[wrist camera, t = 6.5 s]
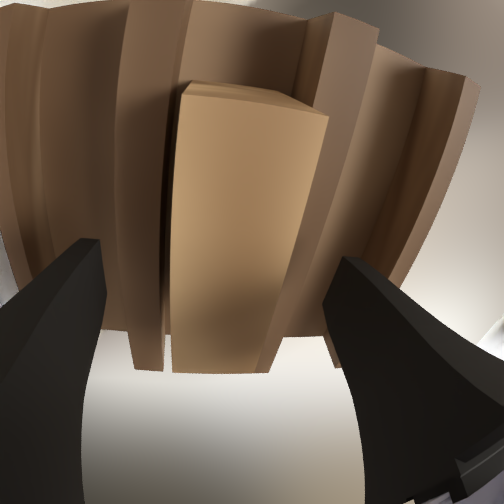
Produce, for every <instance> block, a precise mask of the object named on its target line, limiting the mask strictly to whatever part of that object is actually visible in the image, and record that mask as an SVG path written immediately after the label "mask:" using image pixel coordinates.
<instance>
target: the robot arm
mask: <svg viewBox="0 0 504 504" xmlns="http://www.w3.org/2000/svg"><path fill="white" fill-rule="evenodd" d="M106 299H107V288H106V282H105V275H104V268H103V260H102V253H101V244H100V239H90V238H80V239H79V240H77V241H76V242H75V243H73V244H72V245H71V246H70V247H69V248H68V249H66V250H65V251H64V252H63V253H62V254H61V255H60V256H59V257H57V258H56V259H55V260H54V261H53V262H52V263H51V264H50V265H48V266H47V267H46V268H45V269H44V270H43V271H42V272H41V273H40V274H39V275H37V276H36V277H35V278H34V279H33V280H32V281H31V282H30V283H28V284H27V285H26V286H25V287H24V288H23V289H22V290H20V291H19V292H18V293H17V294H16V295H15V296H14V297H13V298H11V299H10V300H9V301H8V302H7V303H6V304H5V305H3V306H1V304H0V504H85V501H84V493H83V484H82V467H81V429H82V414H83V403H84V396H85V390H86V384H87V380H88V376H89V372H90V368H91V364H92V360H93V356H94V352H95V348H96V345H97V341H98V337H99V334H100V330H101V326H102V322H103V316H104V311H105V305H106ZM322 306H323V311H324V316H325V320H326V324H327V328H328V332H329V335H330V337H331V340H332V343H333V345H334V348H335V351H336V354H337V356H338V359H339V362H340V364H341V367H342V370H343V372H344V375H345V378H346V380H347V383H348V386H349V389H350V392H351V395H352V399H353V403H354V407H355V411H356V416H357V421H358V426H359V432H360V438H361V443H362V452H363V461H364V473H365V504H403V503H406V502H408V501H410V500H413V499H414V502H415V504H504V361H503V360H501V359H499V358H497V357H495V356H493V355H491V354H489V353H488V352H486V351H484V350H483V349H481V348H479V347H477V346H476V345H474V344H472V343H470V342H469V341H468V340H466V339H464V338H463V337H461V336H460V335H458V334H457V333H456V332H454V331H453V330H451V329H450V328H448V327H447V326H446V325H444V324H443V323H442V322H440V321H439V320H438V319H436V318H435V317H434V316H432V315H431V314H430V313H429V312H427V311H426V310H425V309H424V308H422V307H421V306H420V305H418V304H417V303H416V302H415V301H414V300H412V299H411V298H410V297H409V296H407V295H406V294H405V293H404V292H403V291H402V290H400V289H399V288H398V287H397V286H396V285H394V284H393V283H392V282H391V281H390V280H388V279H387V278H386V277H385V276H383V275H382V274H381V273H380V272H378V271H377V270H376V269H375V268H373V267H372V266H371V265H369V264H368V263H366V262H365V261H364V260H362V259H360V258H359V257H347V256H342V258H341V260H340V263H339V265H338V268H337V270H336V272H335V275H334V277H333V280H332V282H331V284H330V286H329V289H328V291H327V293H326V296H325V298H324V300H323V302H322Z"/></svg>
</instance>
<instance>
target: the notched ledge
mask: <svg viewBox="0 0 504 504" xmlns="http://www.w3.org/2000/svg"><path fill="white" fill-rule="evenodd" d="M379 30H380V29H379V28H376V27H374V26H371V25H369V24H367V23H364V22H362V21H359V20H357V19H354V18H351V17H349V16H346V15H343V14H340V13H338V12H332V13H328V14H325V15H321V16H318V17H315V18H312V19H309V20H306V19H303V18H299V17H295V16H291V15H287V14H283V13H278V12H273V11H269V10H264V9H259V8H254V7H248V6H242V5H235V4H228V3H221V2H212V1H201V0H106V1H95V2H87V3H79V4H73V5H67V6H61V7H55V8H50V9H48V8H43V7H37V6H32V5H26V4H19V3H13V4H9V5H6V6H3V7H0V230H1V234H2V238H3V242H4V245H5V249H6V252H7V255H8V259H9V262H10V265H11V268H12V271H13V274H14V277H15V280H16V283H17V286H18V289H19V291H20V290H22V289H23V288H24V287H25V286H26V285H27V284H28V283H30V282H31V281H32V280H33V279H34V278H35V277H36V276H37V275H39V274H40V273H41V272H42V271H43V270H44V269H45V268H46V267H47V266H48V265H50V264H51V263H52V262H53V261H54V260H55V259H56V258H57V257H59V256H60V255H61V254H62V253H63V252H64V251H65V250H66V249H68V248H69V247H70V246H71V245H72V244H73V243H75V242H76V241H77V240H79V239H80V238H90V239H100V244H101V253H102V260H103V268H104V275H105V282H106V288H107V299H106V305H105V311H104V316H103V322H102V326H101V329H107V330H118V331H127V332H128V337H129V342H130V348H131V354H132V358H133V364H134V368H135V369H137V370H149V371H163V369H164V347H165V334H168V335H171V324H170V246H171V217H172V197H173V181H174V167H175V154H176V143H177V132H178V123H179V114H180V105H181V97H182V94H183V92H184V91H185V90H186V88H187V87H188V86H189V84H190V83H191V82H192V80H200V81H211V82H220V83H229V84H237V85H244V86H251V87H257V88H263V89H269V90H275V91H279V92H281V93H283V94H285V95H287V96H289V97H292V98H294V99H296V100H298V101H300V102H302V103H304V104H306V105H308V106H310V107H312V108H314V109H316V110H318V111H320V112H321V113H323V114H325V115H327V116H329V119H328V123H327V127H326V131H325V135H324V139H323V143H322V147H321V151H320V155H319V158H318V162H317V166H316V170H315V173H314V177H313V181H312V185H311V188H310V192H309V196H308V199H307V203H306V206H305V210H304V213H303V217H302V220H301V224H300V227H299V231H298V234H297V238H296V241H295V245H294V248H293V252H292V255H291V258H290V262H289V265H288V268H287V272H286V275H285V278H284V281H283V285H282V288H281V291H280V294H279V298H278V301H277V304H276V307H275V310H274V314H273V317H272V320H271V323H270V326H269V329H268V332H267V335H266V338H265V342H264V345H263V348H262V351H261V354H260V357H259V360H258V363H257V366H256V369H255V372H254V373H268V372H269V370H270V368H271V365H272V363H273V361H274V358H275V356H276V353H277V351H278V348H279V346H280V344H281V341H282V339H283V337H311V336H323V337H324V340H325V343H326V345H327V348H328V351H329V354H330V356H331V359H332V362H333V364H334V367H335V368H342V367H341V364H340V362H339V359H338V356H337V354H336V351H335V348H334V345H333V343H332V340H331V337H330V335H329V332H328V328H327V324H326V320H325V316H324V311H323V306H322V302H323V300H324V298H325V296H326V293H327V291H328V289H329V286H330V284H331V282H332V280H333V277H334V275H335V272H336V270H337V268H338V265H339V263H340V260H341V258H342V256H347V257H359V258H360V259H362V260H364V261H365V262H366V263H368V264H369V265H371V266H372V267H373V268H375V269H376V270H377V271H378V272H380V273H381V274H382V275H383V276H385V277H386V278H387V279H388V280H390V281H391V282H392V283H393V284H394V285H396V286H397V287H398V288H400V286H401V285H402V283H403V281H404V279H405V277H406V276H407V274H408V272H409V270H410V268H411V266H412V264H413V262H414V261H415V259H416V257H417V255H418V253H419V251H420V249H421V247H422V245H423V242H424V240H425V239H426V237H427V235H428V232H429V230H430V228H431V226H432V224H433V222H434V219H435V217H436V215H437V213H438V211H439V208H440V206H441V204H442V201H443V199H444V197H445V194H446V192H447V189H448V187H449V184H450V182H451V179H452V177H453V174H454V172H455V169H456V166H457V164H458V161H459V158H460V155H461V152H462V150H463V147H464V144H465V141H466V137H467V135H468V131H469V128H470V125H471V122H472V118H473V115H474V111H475V108H476V104H477V100H478V97H479V93H480V89H481V86H479V85H478V84H476V83H475V82H473V81H472V80H471V79H469V78H468V77H466V76H463V75H459V74H455V73H451V72H447V71H442V70H438V69H433V68H428V67H425V66H423V65H421V64H419V63H417V62H415V61H413V60H411V59H409V58H407V57H405V56H403V55H401V54H398V53H397V52H394V51H392V50H390V49H388V48H385V47H383V46H381V45H378V44H376V43H377V39H378V34H379Z"/></svg>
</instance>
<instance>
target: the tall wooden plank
mask: <svg viewBox="0 0 504 504" xmlns="http://www.w3.org/2000/svg"><path fill="white" fill-rule="evenodd" d="M328 119H329V116H327V115H325V114H323V113H321V112H320V111H318V110H316V109H314V108H312V107H310V106H308V105H306V104H304V103H302V102H300V101H298V100H296V99H294V98H292V97H289V96H287V95H285V94H283V93H281V92H279V91H275V90H269V89H263V88H257V87H251V86H244V85H237V84H229V83H220V82H211V81H200V80H192V82H191V83H190V84H189V86H188V87H187V88H186V90H185V91H184V92H183V94H182V97H181V105H180V114H179V123H178V132H177V143H176V154H175V167H174V181H173V197H172V217H171V246H170V324H171V353H172V372H174V373H202V374H242V373H254V372H255V369H256V366H257V363H258V360H259V357H260V354H261V351H262V348H263V345H264V342H265V338H266V335H267V332H268V329H269V326H270V323H271V320H272V317H273V314H274V310H275V307H276V304H277V301H278V298H279V294H280V291H281V288H282V285H283V281H284V278H285V275H286V272H287V268H288V265H289V262H290V258H291V255H292V252H293V248H294V245H295V241H296V238H297V234H298V231H299V227H300V224H301V220H302V217H303V213H304V210H305V206H306V203H307V199H308V196H309V192H310V188H311V185H312V181H313V177H314V173H315V170H316V166H317V162H318V158H319V155H320V151H321V147H322V143H323V139H324V135H325V131H326V127H327V123H328Z"/></svg>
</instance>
